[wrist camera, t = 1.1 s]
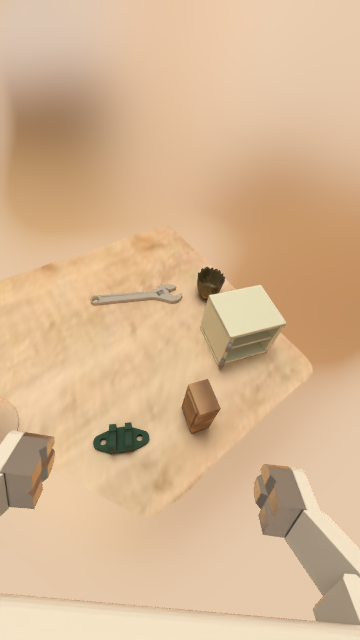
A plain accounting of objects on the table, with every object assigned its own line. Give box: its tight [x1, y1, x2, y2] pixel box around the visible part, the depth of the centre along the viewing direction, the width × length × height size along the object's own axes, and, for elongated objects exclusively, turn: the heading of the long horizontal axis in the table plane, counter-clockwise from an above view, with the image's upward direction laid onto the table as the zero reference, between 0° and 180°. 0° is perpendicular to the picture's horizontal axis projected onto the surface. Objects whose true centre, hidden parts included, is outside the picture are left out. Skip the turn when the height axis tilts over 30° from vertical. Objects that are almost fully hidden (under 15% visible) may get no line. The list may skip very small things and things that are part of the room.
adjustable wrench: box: [90, 284, 182, 305], centre depth 81 cm, size 25×6×2 cm, turn 97°
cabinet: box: [200, 285, 286, 367], centre depth 70 cm, size 15×13×13 cm
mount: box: [93, 423, 149, 454], centre depth 56 cm, size 11×4×5 cm, turn 98°
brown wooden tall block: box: [182, 379, 221, 434], centre depth 57 cm, size 4×6×12 cm
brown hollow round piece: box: [197, 267, 225, 300], centre depth 80 cm, size 8×7×8 cm
